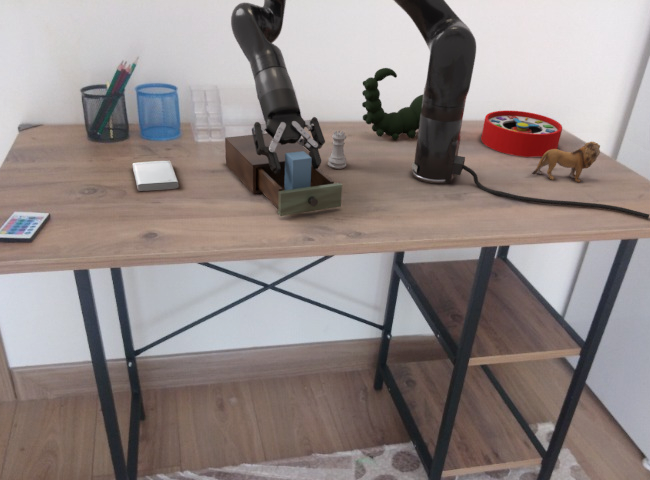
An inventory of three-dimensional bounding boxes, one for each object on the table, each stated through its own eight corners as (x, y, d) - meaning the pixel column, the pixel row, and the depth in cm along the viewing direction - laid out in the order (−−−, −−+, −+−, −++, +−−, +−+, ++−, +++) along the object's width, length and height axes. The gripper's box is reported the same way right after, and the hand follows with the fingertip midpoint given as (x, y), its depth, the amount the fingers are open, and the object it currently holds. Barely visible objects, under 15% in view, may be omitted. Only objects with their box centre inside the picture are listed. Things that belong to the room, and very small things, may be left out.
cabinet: (315, 185, 141) (316, 157, 137) (253, 194, 135) (252, 165, 131) (283, 157, 153) (284, 131, 150) (225, 164, 147) (224, 137, 144)
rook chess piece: (344, 170, 149) (347, 136, 145) (325, 168, 149) (327, 134, 145) (348, 163, 153) (350, 130, 148) (329, 161, 153) (331, 128, 149)
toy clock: (500, 134, 160) (475, 109, 176) (495, 156, 163) (471, 130, 180) (575, 135, 163) (544, 111, 179) (569, 157, 166) (539, 131, 183)
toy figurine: (369, 150, 166) (459, 139, 171) (369, 75, 156) (465, 65, 160) (359, 137, 174) (445, 127, 179) (358, 65, 163) (450, 56, 168)
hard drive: (178, 181, 134) (170, 159, 144) (137, 184, 131) (131, 162, 141) (178, 188, 135) (170, 166, 144) (138, 191, 132) (132, 169, 142)
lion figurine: (587, 174, 156) (597, 138, 151) (595, 183, 152) (606, 146, 147) (527, 172, 155) (536, 135, 151) (534, 180, 151) (543, 143, 146)
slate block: (310, 195, 131) (311, 157, 127) (292, 198, 130) (293, 160, 125) (302, 187, 134) (303, 150, 130) (284, 190, 133) (285, 153, 128)
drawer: (343, 208, 129) (345, 187, 127) (282, 218, 124) (283, 196, 121) (306, 176, 142) (307, 156, 140) (250, 184, 137) (250, 163, 134)
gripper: (248, 88, 125) (269, 166, 123) (314, 84, 131) (336, 158, 129) (239, 108, 132) (259, 181, 130) (302, 103, 138) (323, 173, 136)
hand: (297, 169), depth 129 cm, fingers open, 8 cm apart
